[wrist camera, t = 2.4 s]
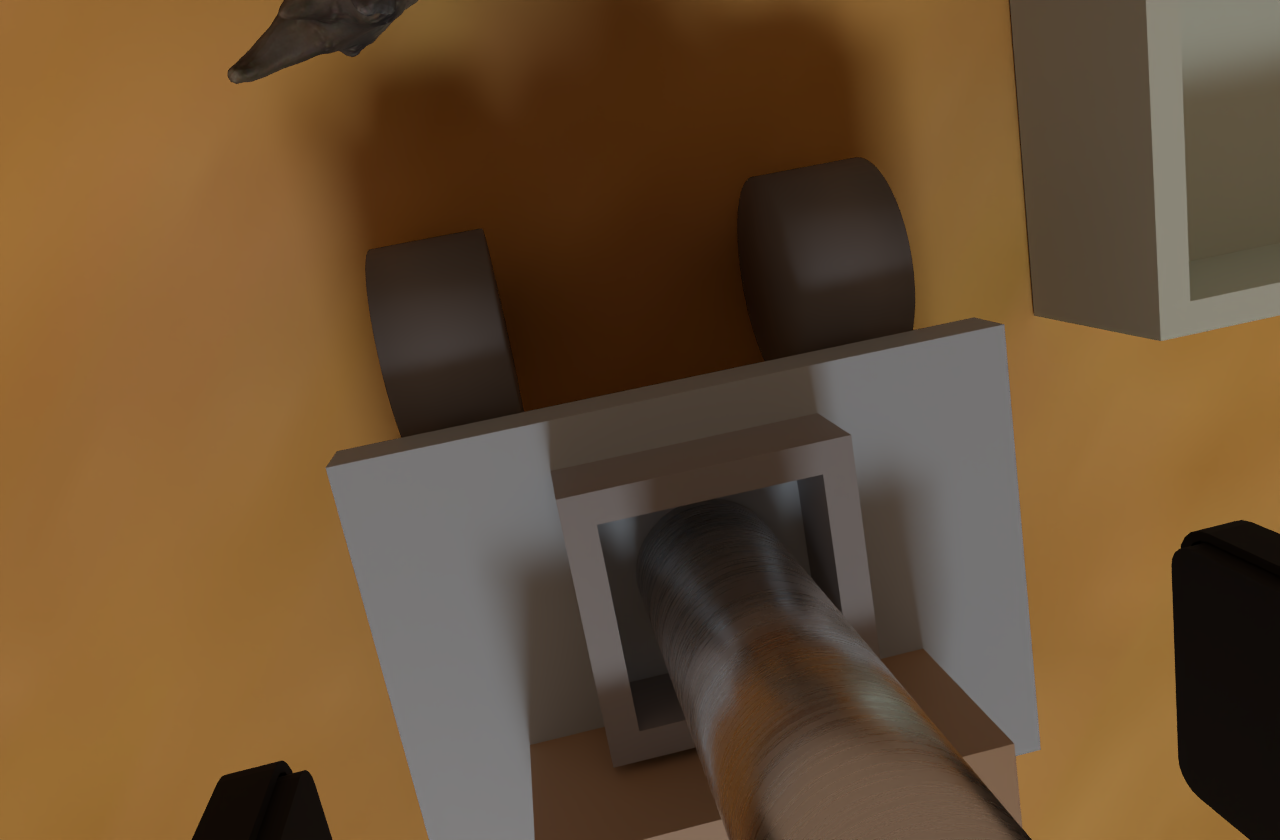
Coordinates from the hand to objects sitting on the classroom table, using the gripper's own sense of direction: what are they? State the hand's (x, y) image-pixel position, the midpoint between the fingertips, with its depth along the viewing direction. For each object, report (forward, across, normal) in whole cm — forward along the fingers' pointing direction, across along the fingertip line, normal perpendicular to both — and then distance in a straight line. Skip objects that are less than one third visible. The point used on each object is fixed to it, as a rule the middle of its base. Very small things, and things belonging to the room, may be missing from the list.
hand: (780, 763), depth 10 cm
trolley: (+11, -1, +1) cm, 11 cm away
